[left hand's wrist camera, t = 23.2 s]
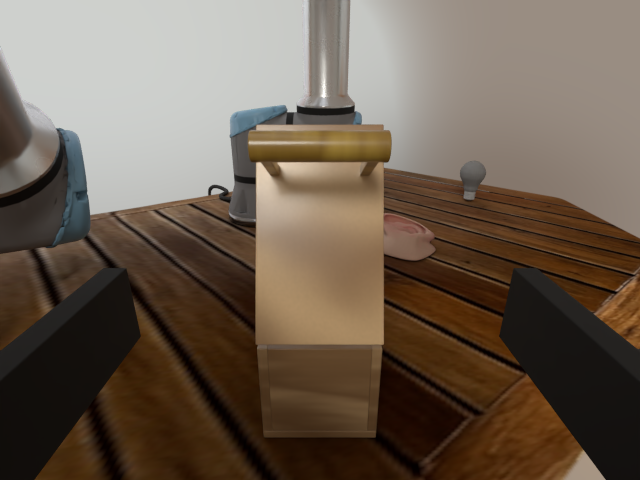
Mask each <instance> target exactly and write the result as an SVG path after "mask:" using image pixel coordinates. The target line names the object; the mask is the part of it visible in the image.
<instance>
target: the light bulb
mask: <svg viewBox="0 0 640 480" xmlns="http://www.w3.org/2000/svg"><path fill="white" fill-rule="evenodd" d="M485 175H486V170H485V167H484V166H483V164H482V163H480V162H478V161H470V162H468V163H466V164H465V165H464V166H463V167H462V168H461V171H460V177H461V179H462V182H463V184H464V190H465V191H464V194H465V195H464V199H466V200H473V199H474V196H475V195H474V194H475V192H476V190H477V189H478V186H479V184H480V183H481V182H482V180H483V179H484V177H485Z"/></svg>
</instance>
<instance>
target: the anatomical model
mask: <svg viewBox="0 0 640 480" xmlns="http://www.w3.org/2000/svg"><path fill="white" fill-rule="evenodd" d="M434 237H435V235H434V233H432V232H431V231H430V230H428V229H427V228H426V227H424V226H423V225H421V224H420V223H418V222H416V221H413V220H411V219H408V218H405V217H402V216H399V215H395V214H390V213H385V214H384V254H386V255H389V256H392V257H396V258H400V259H405V260H411V261H417V260H421V259H424V258H426V257H428V256H430V255H431V254H432V253H434V252H435V248H434V246H433V245H431V243H430V241H432V240H433V239H434Z"/></svg>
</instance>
